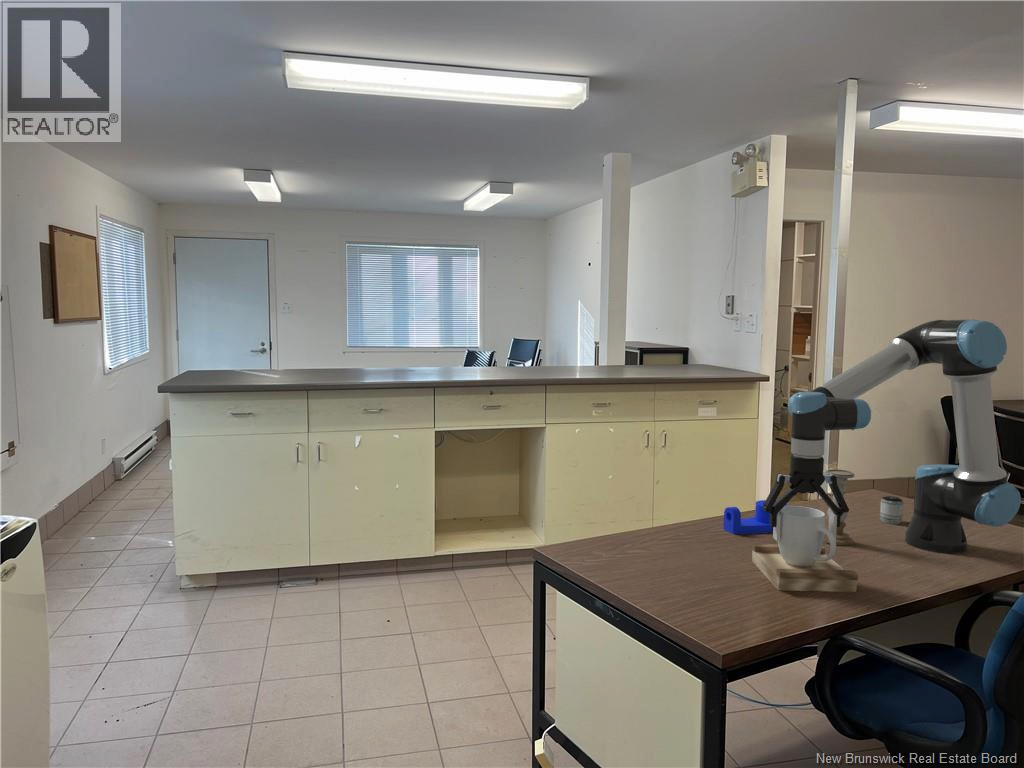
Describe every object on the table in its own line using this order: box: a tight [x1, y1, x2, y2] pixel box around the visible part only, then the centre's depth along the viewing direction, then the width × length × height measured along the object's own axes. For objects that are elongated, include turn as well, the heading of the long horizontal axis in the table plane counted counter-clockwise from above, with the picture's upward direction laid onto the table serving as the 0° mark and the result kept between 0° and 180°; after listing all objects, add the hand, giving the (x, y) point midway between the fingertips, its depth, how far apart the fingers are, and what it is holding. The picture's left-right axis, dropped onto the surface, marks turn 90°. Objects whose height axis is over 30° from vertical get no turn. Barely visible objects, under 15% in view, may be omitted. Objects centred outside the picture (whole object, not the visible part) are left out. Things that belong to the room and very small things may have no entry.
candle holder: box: [823, 468, 856, 546], centre depth 199 cm, size 9×9×20 cm
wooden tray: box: [751, 543, 859, 593], centre depth 172 cm, size 18×21×4 cm
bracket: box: [723, 499, 788, 535], centre depth 210 cm, size 20×9×8 cm, turn 107°
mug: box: [777, 505, 837, 567], centre depth 171 cm, size 15×11×13 cm
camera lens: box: [879, 495, 904, 525], centre depth 219 cm, size 6×6×8 cm
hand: (804, 539), depth 171 cm, fingers open, 13 cm apart
